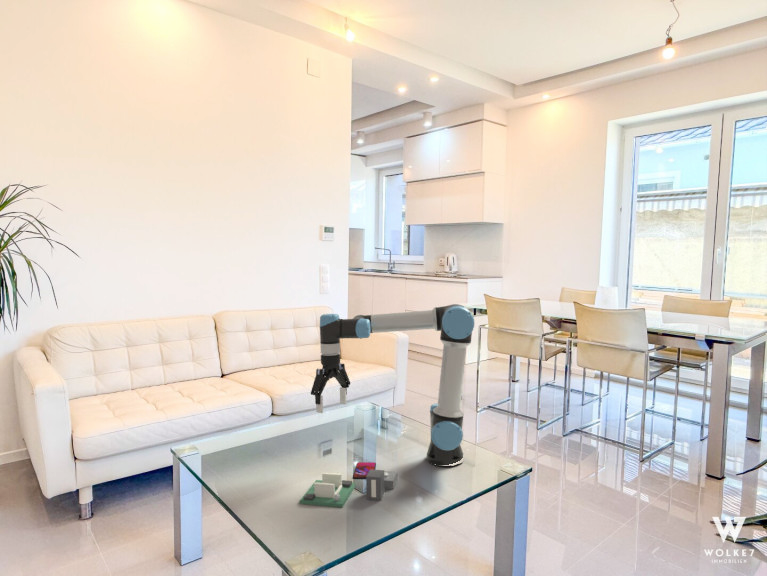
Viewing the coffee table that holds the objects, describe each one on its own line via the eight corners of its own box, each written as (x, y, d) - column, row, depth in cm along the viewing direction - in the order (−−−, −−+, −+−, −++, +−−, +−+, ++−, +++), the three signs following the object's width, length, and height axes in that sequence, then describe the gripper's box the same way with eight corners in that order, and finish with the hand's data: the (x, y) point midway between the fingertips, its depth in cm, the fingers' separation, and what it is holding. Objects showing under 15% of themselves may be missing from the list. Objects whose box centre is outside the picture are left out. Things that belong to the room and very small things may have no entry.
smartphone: (376, 462, 196) (373, 477, 181) (376, 464, 196) (373, 479, 181) (357, 462, 197) (352, 477, 182) (357, 464, 197) (352, 479, 182)
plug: (384, 492, 170) (384, 470, 170) (380, 500, 164) (380, 477, 164) (370, 491, 171) (370, 469, 171) (366, 499, 165) (366, 476, 165)
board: (355, 486, 175) (355, 470, 175) (342, 507, 159) (342, 490, 159) (316, 483, 178) (315, 468, 178) (299, 503, 163) (299, 487, 162)
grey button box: (397, 479, 180) (397, 470, 180) (393, 489, 172) (393, 479, 172) (376, 478, 182) (376, 468, 182) (371, 487, 174) (371, 477, 174)
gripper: (344, 348, 199) (345, 399, 200) (300, 358, 179) (301, 414, 180) (358, 349, 195) (359, 401, 196) (314, 359, 175) (316, 417, 175)
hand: (331, 408), depth 188 cm, fingers open, 13 cm apart
